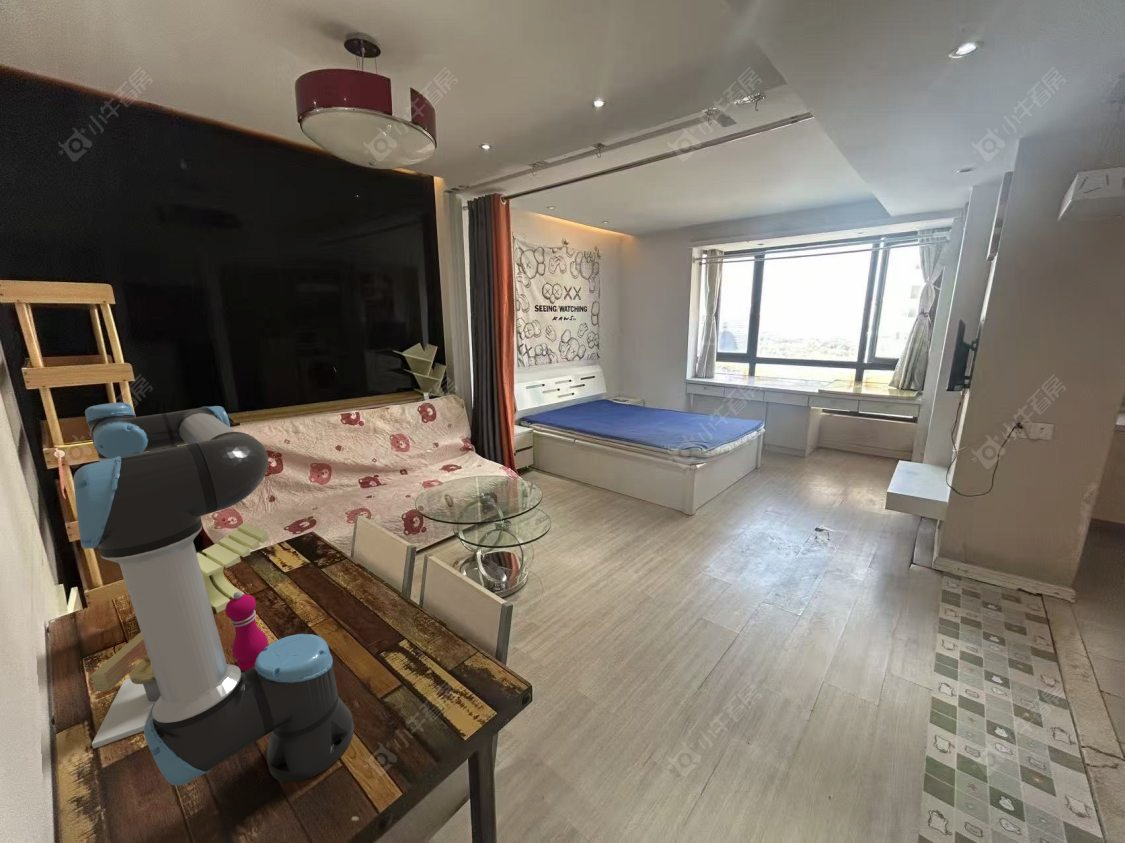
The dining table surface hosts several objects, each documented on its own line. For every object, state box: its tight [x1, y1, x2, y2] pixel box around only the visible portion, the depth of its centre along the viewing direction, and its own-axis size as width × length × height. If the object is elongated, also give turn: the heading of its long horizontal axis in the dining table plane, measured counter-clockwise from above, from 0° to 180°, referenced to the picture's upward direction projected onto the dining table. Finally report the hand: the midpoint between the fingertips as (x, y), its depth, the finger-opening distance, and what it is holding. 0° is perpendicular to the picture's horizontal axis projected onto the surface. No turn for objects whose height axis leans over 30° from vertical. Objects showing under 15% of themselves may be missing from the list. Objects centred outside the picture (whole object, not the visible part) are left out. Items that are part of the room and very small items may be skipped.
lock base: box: [91, 677, 161, 749], centre depth 100 cm, size 18×18×7 cm
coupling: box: [90, 631, 156, 692], centre depth 97 cm, size 11×22×10 cm, turn 5°
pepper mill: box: [224, 590, 269, 672], centre depth 108 cm, size 7×7×20 cm
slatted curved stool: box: [122, 522, 270, 614], centre depth 131 cm, size 30×16×18 cm, turn 149°
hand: (154, 562), depth 106 cm, fingers closed
